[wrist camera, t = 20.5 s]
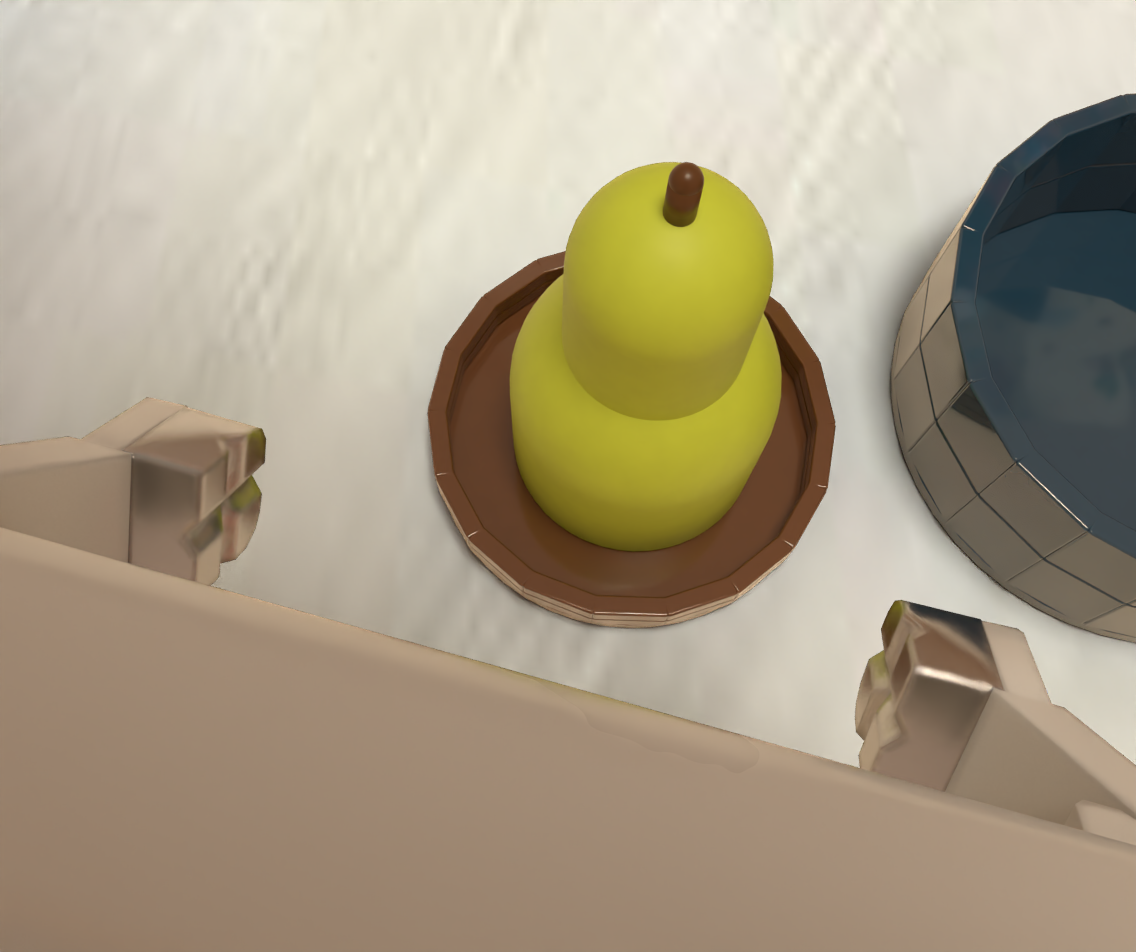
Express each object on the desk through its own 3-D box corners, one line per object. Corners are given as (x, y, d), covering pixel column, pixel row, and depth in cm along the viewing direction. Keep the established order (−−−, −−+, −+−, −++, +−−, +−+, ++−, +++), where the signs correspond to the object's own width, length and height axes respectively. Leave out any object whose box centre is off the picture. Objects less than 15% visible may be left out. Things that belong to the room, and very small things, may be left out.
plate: (356, 499, 29) (347, 479, 27) (565, 208, 32) (567, 178, 30) (700, 708, 27) (709, 700, 26) (885, 380, 30) (902, 356, 29)
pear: (467, 472, 29) (417, 222, 17) (592, 290, 30) (620, -40, 19) (678, 598, 28) (769, 417, 16) (795, 401, 29) (947, 120, 18)
